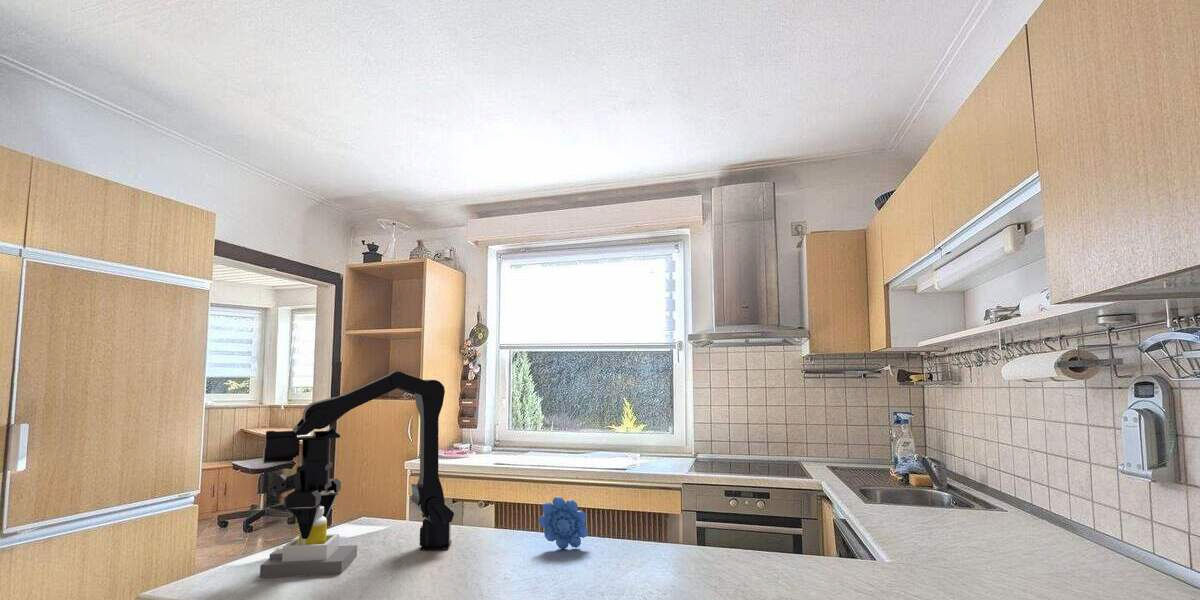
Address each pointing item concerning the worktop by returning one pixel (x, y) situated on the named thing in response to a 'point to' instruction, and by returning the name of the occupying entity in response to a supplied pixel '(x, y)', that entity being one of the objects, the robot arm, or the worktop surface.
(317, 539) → the supplement bottle
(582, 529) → the blue flower
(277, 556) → the stepped tray stack
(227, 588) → the worktop surface
